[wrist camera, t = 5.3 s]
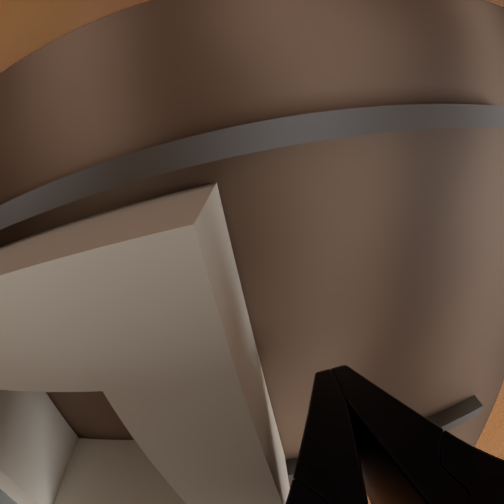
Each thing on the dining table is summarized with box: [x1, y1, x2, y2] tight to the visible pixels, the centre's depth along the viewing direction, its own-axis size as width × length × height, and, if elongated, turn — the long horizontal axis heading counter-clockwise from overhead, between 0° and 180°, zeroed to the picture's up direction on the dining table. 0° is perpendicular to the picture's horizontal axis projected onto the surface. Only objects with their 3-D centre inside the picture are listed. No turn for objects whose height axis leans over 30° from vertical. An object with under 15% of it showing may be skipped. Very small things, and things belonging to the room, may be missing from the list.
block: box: [0, 183, 290, 504], centre depth 7 cm, size 10×10×4 cm
